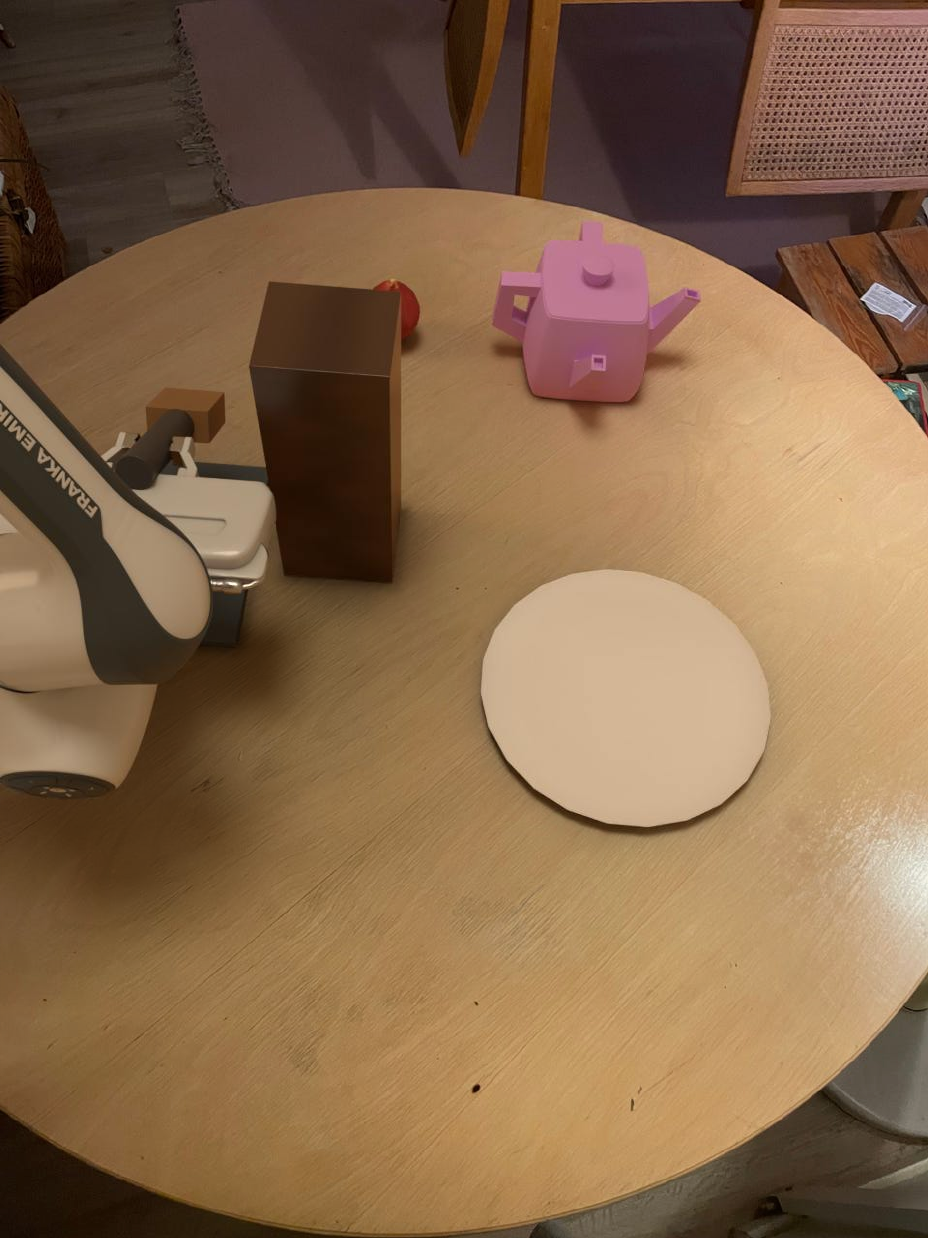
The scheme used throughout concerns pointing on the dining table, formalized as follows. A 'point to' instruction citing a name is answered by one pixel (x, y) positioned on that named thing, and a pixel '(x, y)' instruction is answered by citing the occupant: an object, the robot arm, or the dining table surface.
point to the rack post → (331, 426)
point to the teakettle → (587, 318)
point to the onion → (404, 305)
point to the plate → (625, 698)
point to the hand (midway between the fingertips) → (158, 439)
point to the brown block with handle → (170, 431)
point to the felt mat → (232, 605)
